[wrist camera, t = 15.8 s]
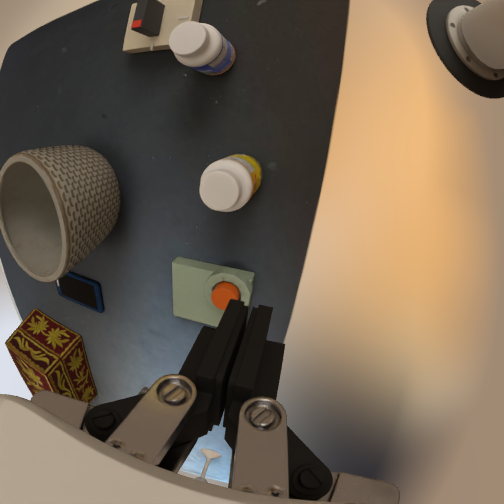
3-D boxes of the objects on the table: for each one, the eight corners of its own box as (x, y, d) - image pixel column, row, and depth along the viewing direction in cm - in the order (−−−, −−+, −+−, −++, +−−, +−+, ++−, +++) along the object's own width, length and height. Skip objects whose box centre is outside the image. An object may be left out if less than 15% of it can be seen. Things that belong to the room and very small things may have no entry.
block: (257, 265, 41) (252, 279, 37) (248, 325, 46) (243, 341, 42) (178, 248, 42) (166, 260, 39) (178, 307, 47) (169, 321, 44)
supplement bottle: (244, 203, 37) (221, 230, 28) (212, 175, 36) (180, 193, 27) (272, 173, 35) (259, 190, 26) (240, 144, 34) (214, 150, 25)
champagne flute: (196, 449, 73) (172, 509, 51) (210, 448, 70) (187, 512, 49) (210, 458, 74) (190, 516, 53) (225, 457, 72) (205, 519, 50)
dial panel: (204, -4, 26) (197, -11, 23) (193, 51, 30) (185, 47, 27) (141, 5, 27) (132, 0, 24) (131, 57, 31) (121, 54, 28)
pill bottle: (188, 65, 30) (151, 50, 22) (211, 33, 28) (180, 8, 19) (220, 83, 31) (191, 70, 22) (245, 50, 29) (223, 26, 20)
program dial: (155, 6, 25) (137, -4, 21) (165, 5, 25) (148, -6, 21) (148, 37, 27) (129, 29, 23) (159, 36, 27) (140, 27, 23)
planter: (160, 211, 40) (91, 258, 26) (94, 251, 46) (34, 297, 32) (110, 114, 35) (27, 122, 21) (53, 171, 41) (-15, 197, 27)
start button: (241, 284, 38) (238, 291, 37) (238, 305, 40) (235, 313, 38) (215, 279, 39) (211, 285, 37) (214, 300, 40) (210, 307, 39)
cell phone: (54, 265, 50) (51, 266, 50) (100, 282, 49) (97, 284, 48) (60, 293, 53) (58, 294, 53) (105, 312, 52) (103, 314, 51)
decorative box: (35, 307, 60) (1, 337, 46) (81, 335, 58) (47, 374, 45) (55, 368, 72) (32, 396, 59) (98, 394, 71) (75, 427, 57)
